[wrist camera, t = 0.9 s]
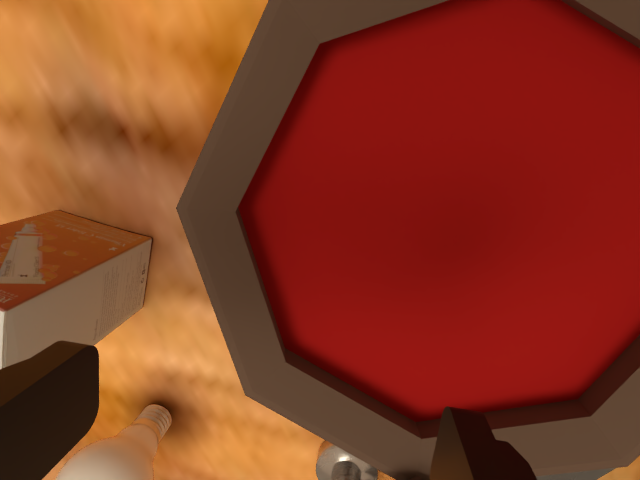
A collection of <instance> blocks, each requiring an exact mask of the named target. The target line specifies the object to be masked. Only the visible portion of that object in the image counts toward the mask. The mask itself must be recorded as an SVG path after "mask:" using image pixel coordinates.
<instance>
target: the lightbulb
mask: <svg viewBox="0 0 640 480" xmlns="http://www.w3.org/2000/svg"><path fill="white" fill-rule="evenodd" d="M171 423H172V418H171V415H170V413H169V412H168V410H167V409H165V408H164V407H162V406H160V405H155V404H152V405H148V406H147V407H145V408H144V410H143V411H142V412H141V413H140V415H139V416H138V417H137V418H136V420H135V421H134V422H133V423H132V424H131V426H128V427H126V428H125V429H123V430H122V431H121V432H119V433H118V434H117V435H116V436H114V437H110V438H105V439H102V440H99V441H96V442H93V443H91V444H89V445H87V446H85V447H84V448H82V449H81V450H79V451H78V452H77V453H75V454H74V455H73V456H72V457H71V458H70V459H69V460H68V461H67V462H66V463H65V464H64V466H63V467H62V468H61V470H60V471H59V473H58V475H57V477H56V479H55V480H154V470H153V460H154V457H155V455H156V452H157V448H158V444H159V442H160V440H161V439H162V437H163V436H164V434H165V433H166V431H167V430H168V429H169V427H170V425H171Z"/></svg>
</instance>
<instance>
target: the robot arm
mask: <svg viewBox="0 0 640 480" xmlns="http://www.w3.org/2000/svg"><path fill="white" fill-rule="evenodd" d="M98 408H99V354H98V350H97V348H96V347H95V346H92V345H87V344H81V343H75V342H69V341H63V340H62V341H57V342H55V343H53V344H52V345H50V346H49V347H47V348H45V349H44V350H42V351H41V352H39V353H37V354H36V355H34V356H33V357H31V358H29V359H26V360H23V361H21V362H18V363H15V364H13V365H10V366H7V367H5V368H2V369H0V480H42V479H43V478H44V477H45V476H46V475H47V474H48V473H49V472H50V470H51V469H52V468H53V467H54V466H55V465H56V464H57V463H58V462H59V461H60V460H61V459H62V458H63V457H64V456H65V455H66V454H67V453H68V452H69V451H70V450H71V449H72V448H73V447H74V446H75V445H76V444H77V443H78V442H79V441H80V440H81V439H82V438H83V437H84V436H85V435H86V433H87V432H88V431H89V430H90V428H91V426H92V425H93V423H94V421H95V418H96V416H97V412H98ZM430 480H537V478H536V476H535V474H534V472H533V470H532V468H531V467H530V465H529V463H528V462H527V461H526V460H525V459H524V458H523V456H522V455H521V454H520V453H519V452H518V451H517V450H516V449H515V448H514V447H513V446H512V445H511V444H510V443H509V442H506V441H501V440H496V439H495V437H494V435H493V433H492V430H491V428H490V426H489V424H488V422H487V419H486V417H485V415H484V414H483V413H482V412H479V411H473V410H467V409H461V408H455V407H449V406H446V407H445V408H444V410H443V413H442V417H441V421H440V426H439V431H438V435H437V440H436V445H435V449H434V454H433V458H432V463H431V469H430Z"/></svg>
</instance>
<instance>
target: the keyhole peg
mask: <svg viewBox="0 0 640 480" xmlns="http://www.w3.org/2000/svg"><path fill="white" fill-rule="evenodd" d="M316 474H317V477H318V480H377V476H378V469H376V468H374V467H373V466H371V465H369V464H367V463H365V462H364V461H362V460H360V459H358V458H357V457H355V456H353V455H351V454H349V453H348V452H346V451H344V450H342V449H340V448H339V447H337V446H335V445H333V444H332V443H330V442H328V441H326V440H325V441H324V442H323V443H322V445H321V446H320V449H319V453H318V458H317V464H316Z"/></svg>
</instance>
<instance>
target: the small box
mask: <svg viewBox="0 0 640 480" xmlns="http://www.w3.org/2000/svg"><path fill="white" fill-rule="evenodd" d="M151 243H152V238H151V237H147V236H143V235H139V234H135V233H131V232H128V231H124V230H121V229H117V228H114V227H111V226H107V225H104V224H100V223H97V222H94V221H91V220H88V219H84V218H81V217H78V216H75V215H72V214H68V213H65V212H62V211H59V210H56V211H52V212H48V213H45V214H41V215H37V216H33V217H29V218H25V219H21V220H18V221H14V222H10V223H7V224H3V225H0V369H2V368H5V367H7V366H10V365H13V364H15V363H18V362H21V361H23V360H26V359H29V358H31V357H33V356H34V355H36V354H37V353H39V352H41V351H42V350H44V349H45V348H47V347H49V346H50V345H52V344H53V343H55V342H57V341H62V340H63V341H69V342H75V343H81V344H87V345H92V346H94V345H95V344H96V343H98V342H99V341H100V340H101V339H103V338H104V337H105V336H107V335H108V334H109V333H110V332H112V331H113V330H114V329H116V328H117V327H118V326H119V325H121V324H122V323H123V322H124V321H126V320H127V319H128V318H130V317H131V316H132V315H133V314H135V313H136V312H137V311H139V310H140V309H141V308H142V307H143V301H144V294H145V287H146V280H147V272H148V265H149V258H150V250H151Z"/></svg>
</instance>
